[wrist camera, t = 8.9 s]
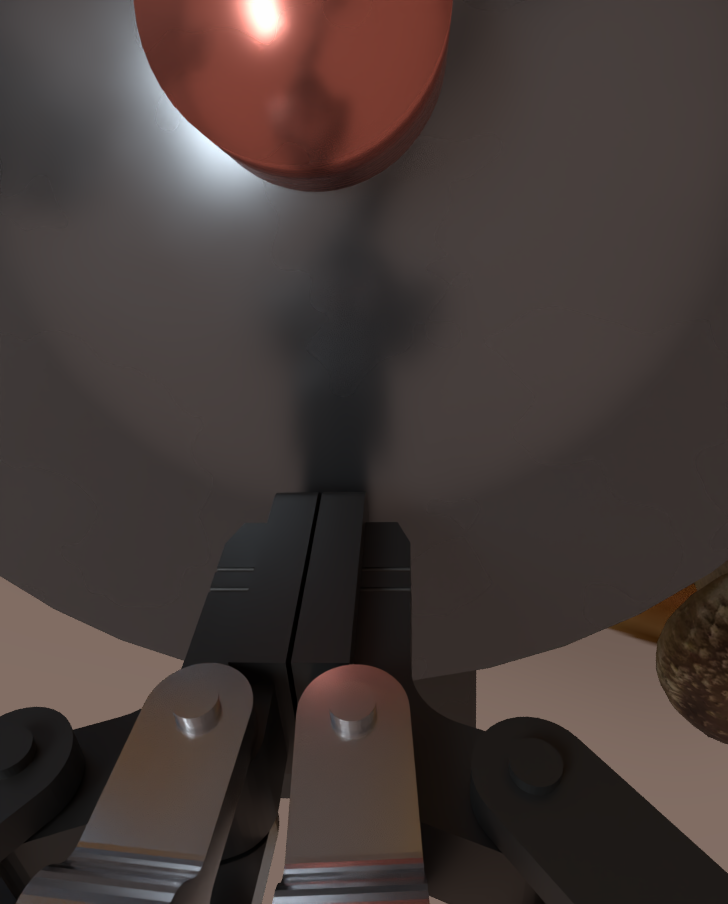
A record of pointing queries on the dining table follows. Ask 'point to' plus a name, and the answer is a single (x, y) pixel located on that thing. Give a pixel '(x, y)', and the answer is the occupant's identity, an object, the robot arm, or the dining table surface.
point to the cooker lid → (366, 304)
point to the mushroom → (699, 656)
